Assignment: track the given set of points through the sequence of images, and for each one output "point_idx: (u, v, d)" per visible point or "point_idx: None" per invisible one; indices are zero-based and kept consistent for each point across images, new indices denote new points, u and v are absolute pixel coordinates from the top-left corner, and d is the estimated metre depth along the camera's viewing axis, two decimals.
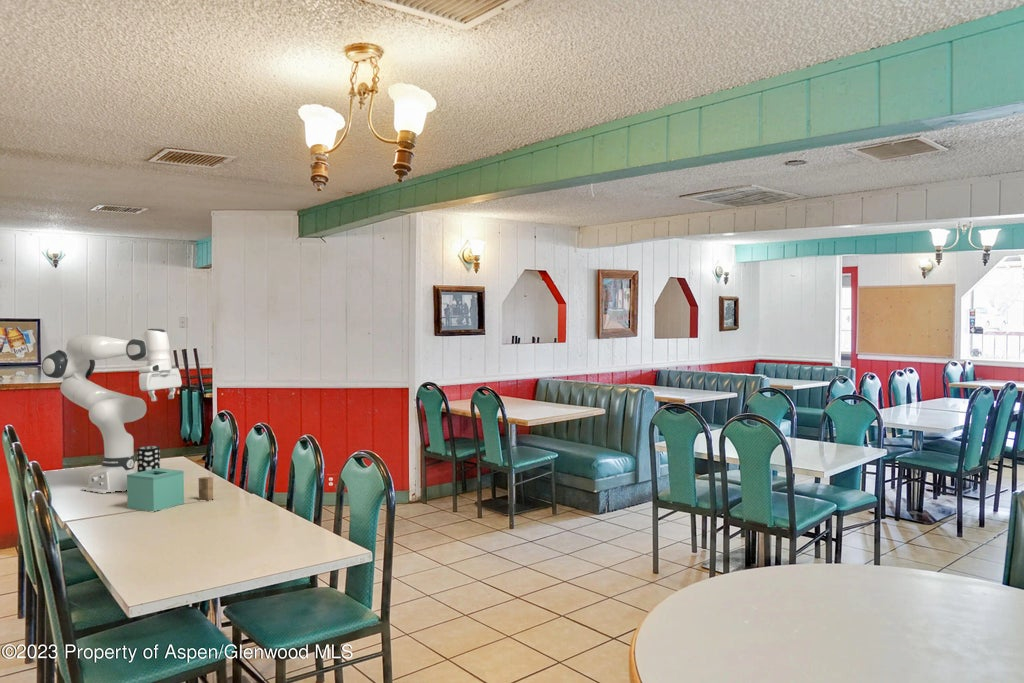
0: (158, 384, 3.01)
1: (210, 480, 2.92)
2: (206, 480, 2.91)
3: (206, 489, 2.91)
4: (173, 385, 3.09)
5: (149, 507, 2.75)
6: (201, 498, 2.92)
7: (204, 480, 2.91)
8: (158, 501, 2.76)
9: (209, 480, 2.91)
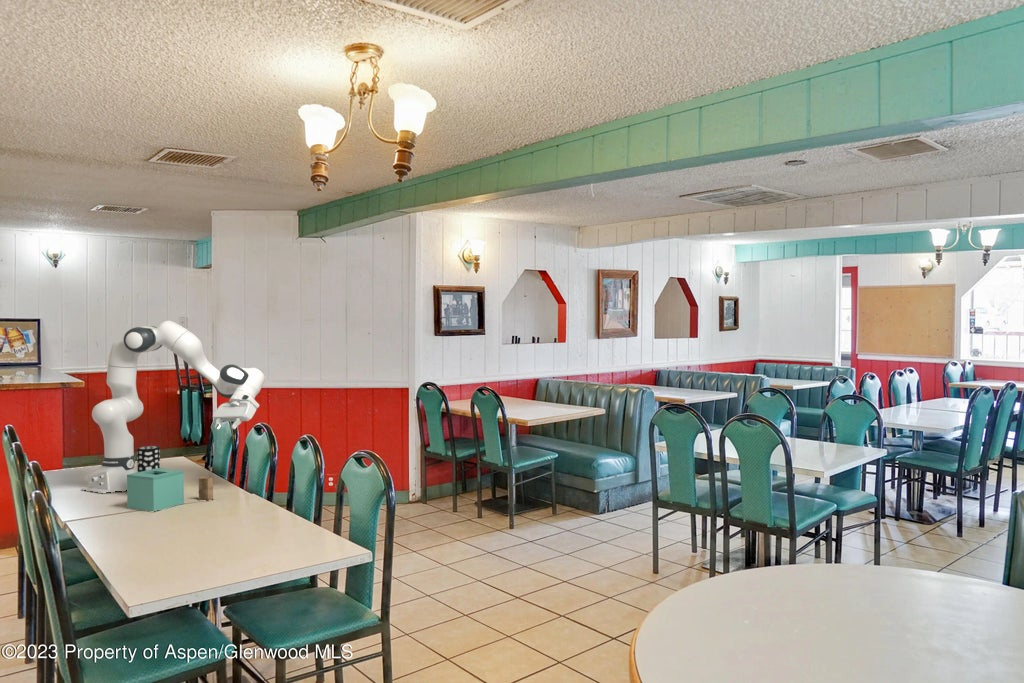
0: None
1: (210, 480, 2.92)
2: (206, 480, 2.91)
3: (206, 489, 2.91)
4: None
5: (149, 507, 2.75)
6: (201, 498, 2.92)
7: (204, 480, 2.91)
8: (158, 501, 2.76)
9: (209, 480, 2.91)
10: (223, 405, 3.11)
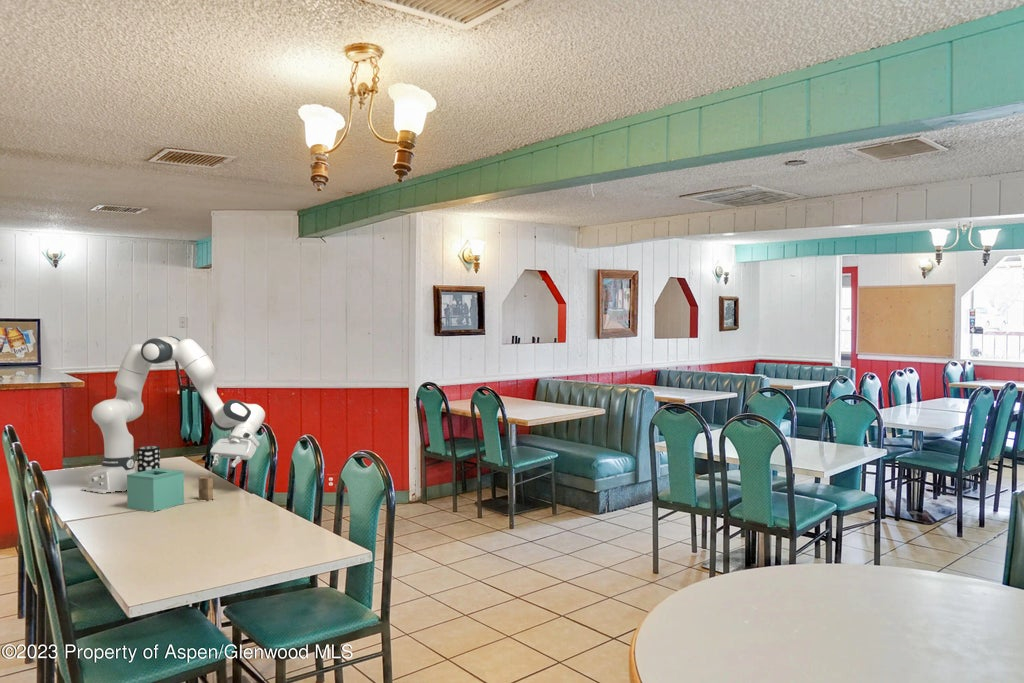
0: None
1: (210, 480, 2.92)
2: (206, 480, 2.91)
3: (206, 489, 2.91)
4: None
5: (149, 507, 2.75)
6: (201, 498, 2.92)
7: (204, 480, 2.91)
8: (158, 501, 2.76)
9: (209, 480, 2.91)
10: (222, 440, 3.09)
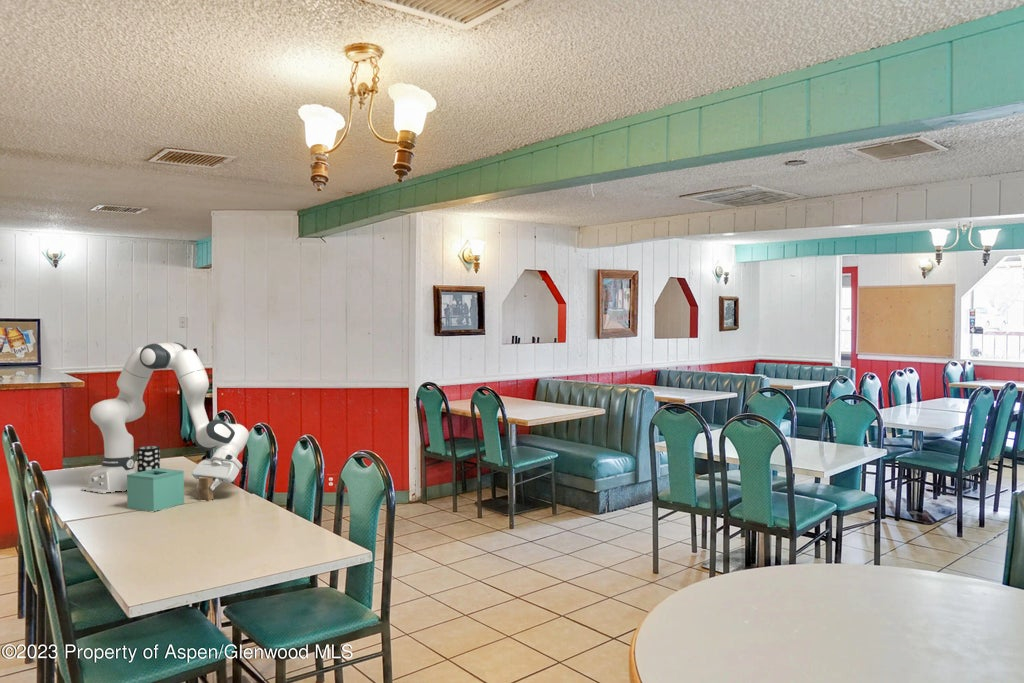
0: None
1: (210, 480, 2.92)
2: (206, 480, 2.91)
3: (206, 489, 2.91)
4: None
5: (149, 507, 2.75)
6: (201, 498, 2.92)
7: (204, 480, 2.91)
8: (158, 501, 2.76)
9: (209, 480, 2.91)
10: (204, 462, 3.01)
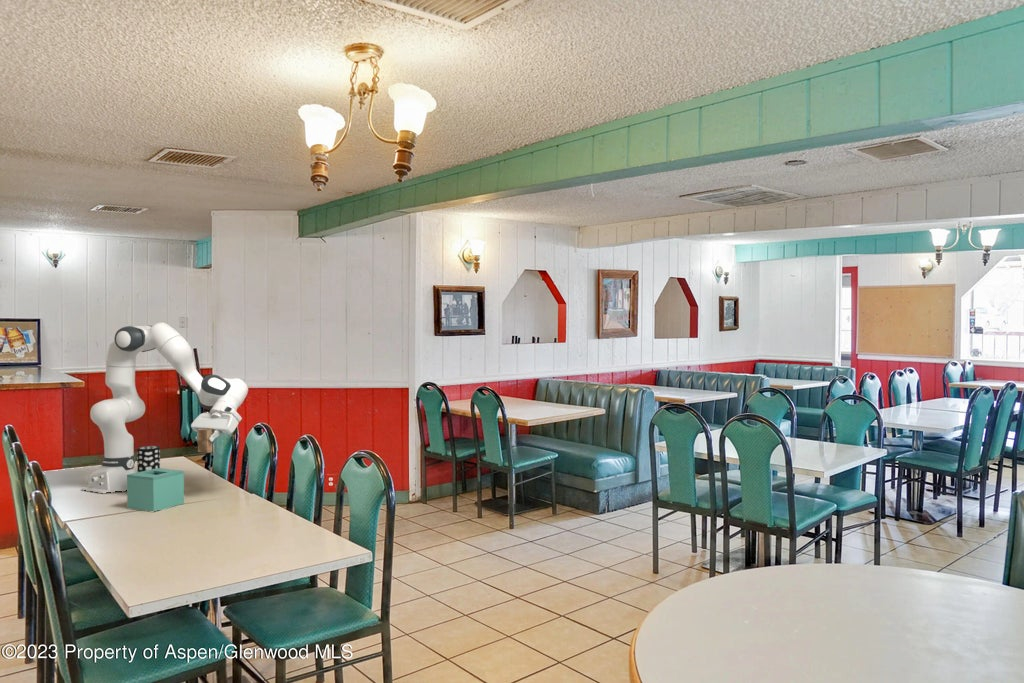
0: None
1: (209, 431, 2.91)
2: (205, 431, 2.90)
3: (205, 440, 2.91)
4: None
5: (149, 507, 2.75)
6: (200, 450, 2.92)
7: (203, 431, 2.91)
8: (158, 501, 2.76)
9: (208, 431, 2.91)
10: (203, 415, 3.00)
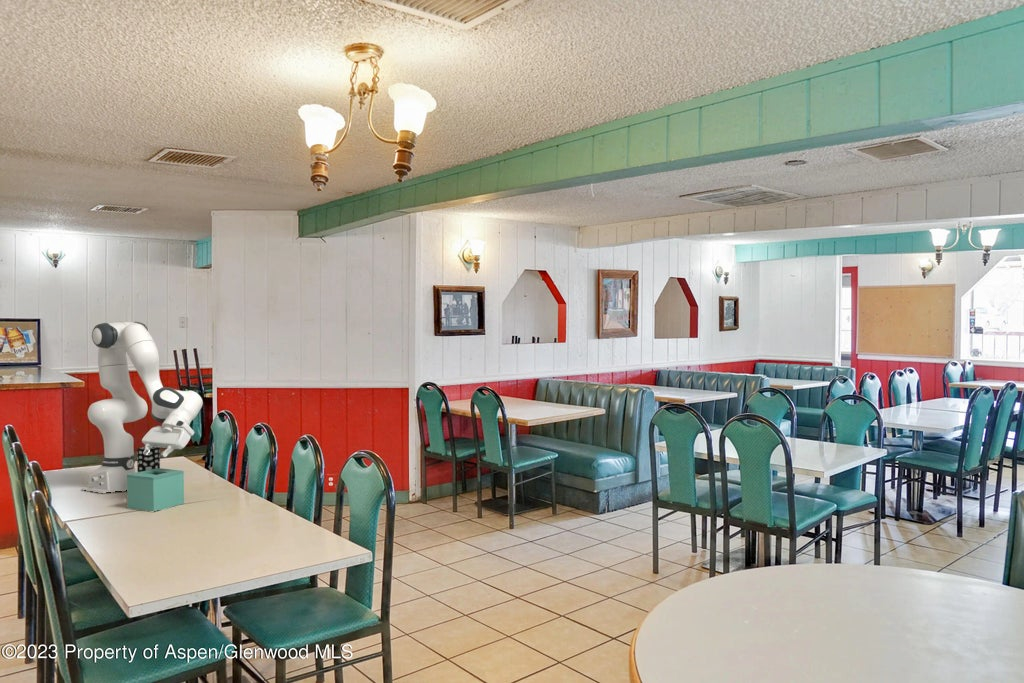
0: None
1: None
2: None
3: None
4: None
5: (149, 507, 2.75)
6: None
7: None
8: (158, 501, 2.76)
9: None
10: (154, 429, 2.91)
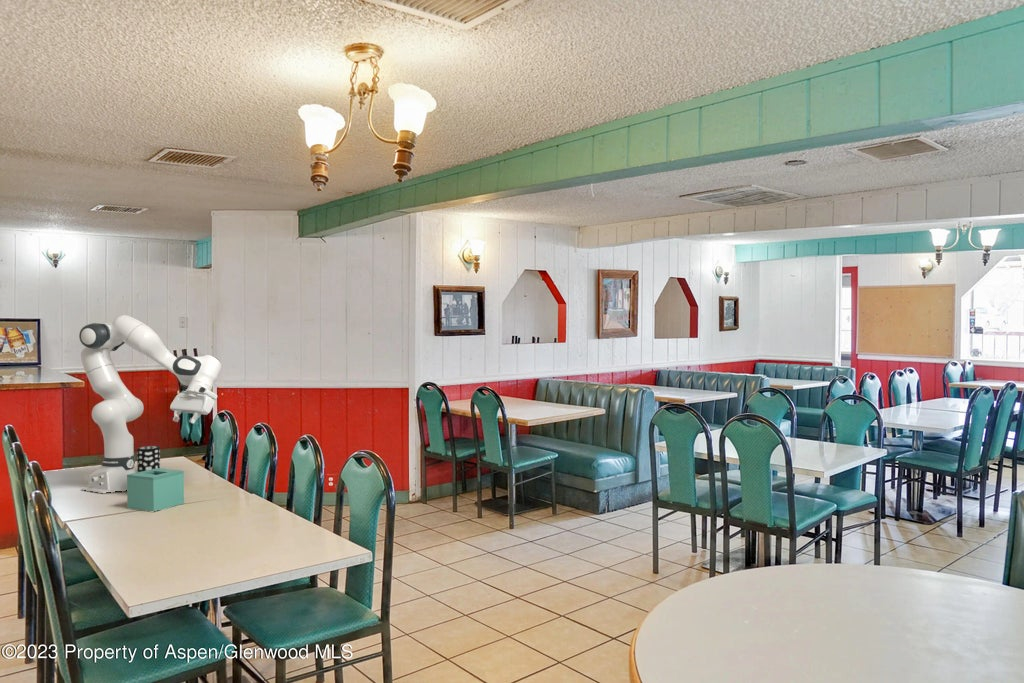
0: None
1: None
2: None
3: None
4: None
5: (149, 507, 2.75)
6: None
7: None
8: (158, 501, 2.76)
9: None
10: (180, 395, 3.04)
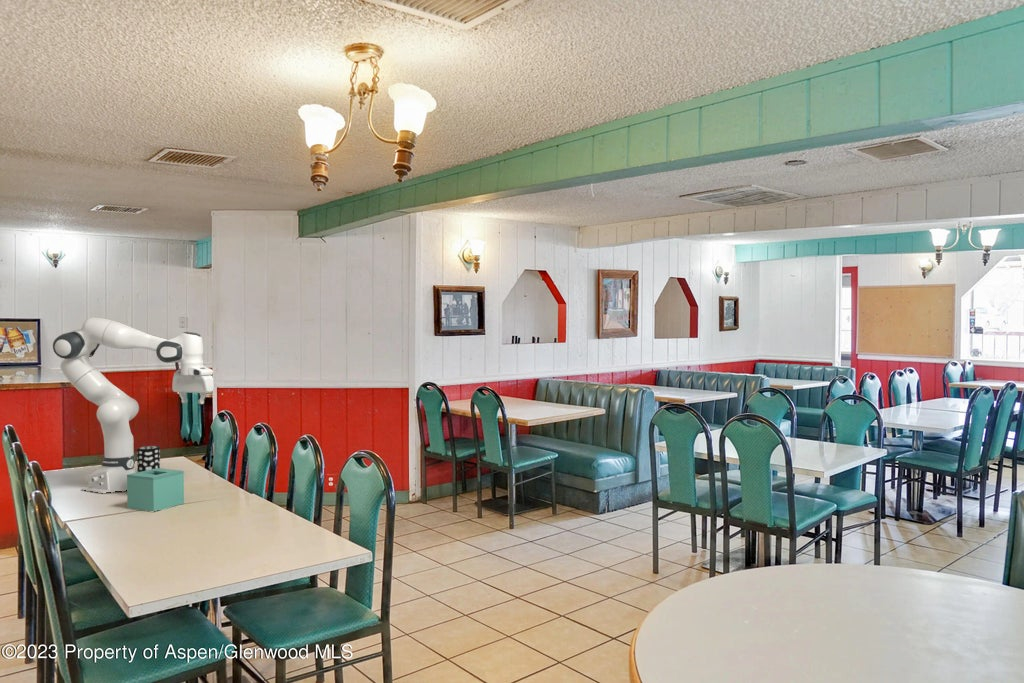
0: None
1: None
2: None
3: None
4: None
5: (149, 507, 2.75)
6: None
7: None
8: (158, 501, 2.76)
9: None
10: (177, 377, 3.09)
